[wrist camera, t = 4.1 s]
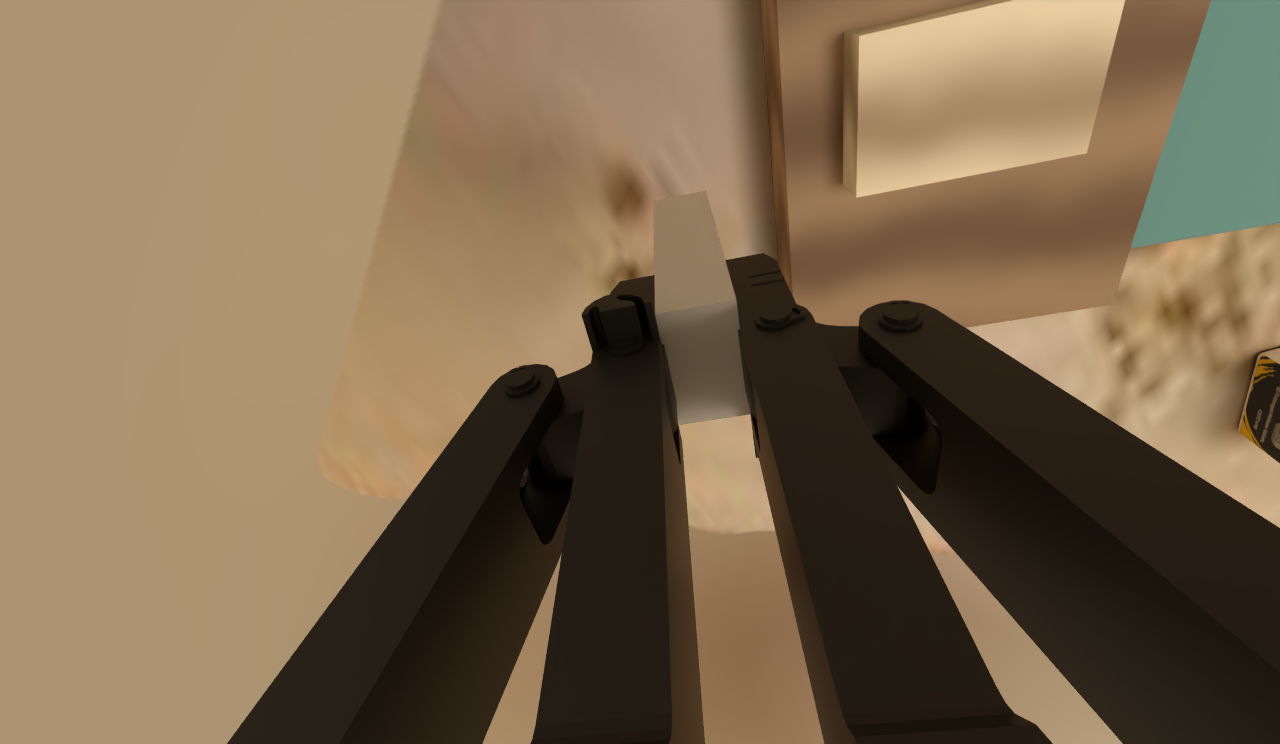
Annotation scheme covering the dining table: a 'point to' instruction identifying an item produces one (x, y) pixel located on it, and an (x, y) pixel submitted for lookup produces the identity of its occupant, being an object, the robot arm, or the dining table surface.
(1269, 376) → the medicine bottle
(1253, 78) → the mat
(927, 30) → the tile
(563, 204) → the dining table surface
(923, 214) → the block
